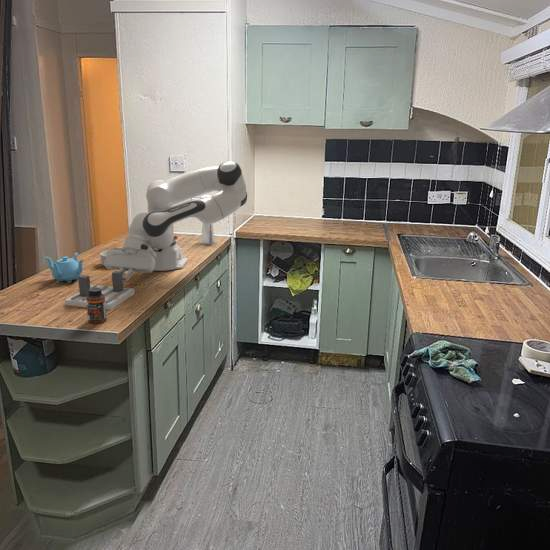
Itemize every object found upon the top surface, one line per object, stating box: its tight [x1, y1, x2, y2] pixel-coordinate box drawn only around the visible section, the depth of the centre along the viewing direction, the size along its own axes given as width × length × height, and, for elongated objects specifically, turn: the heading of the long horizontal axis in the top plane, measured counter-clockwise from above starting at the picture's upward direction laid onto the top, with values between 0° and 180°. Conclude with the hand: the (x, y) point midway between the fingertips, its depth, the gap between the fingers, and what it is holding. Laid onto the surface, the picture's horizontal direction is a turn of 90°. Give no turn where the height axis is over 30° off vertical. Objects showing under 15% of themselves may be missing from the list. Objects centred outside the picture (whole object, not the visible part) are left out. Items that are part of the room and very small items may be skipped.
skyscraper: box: [199, 194, 218, 246], centre depth 273 cm, size 8×8×28 cm
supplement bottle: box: [86, 287, 107, 324], centre depth 168 cm, size 6×6×11 cm
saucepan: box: [99, 250, 109, 266], centre depth 237 cm, size 12×20×6 cm, turn 159°
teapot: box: [44, 252, 85, 284], centre depth 209 cm, size 13×13×10 cm
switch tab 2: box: [111, 270, 125, 292], centre depth 191 cm, size 2×3×8 cm
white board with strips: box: [64, 284, 136, 311], centre depth 189 cm, size 18×18×3 cm
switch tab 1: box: [77, 274, 91, 297], centre depth 186 cm, size 2×3×8 cm
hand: (123, 279), depth 195 cm, fingers closed
